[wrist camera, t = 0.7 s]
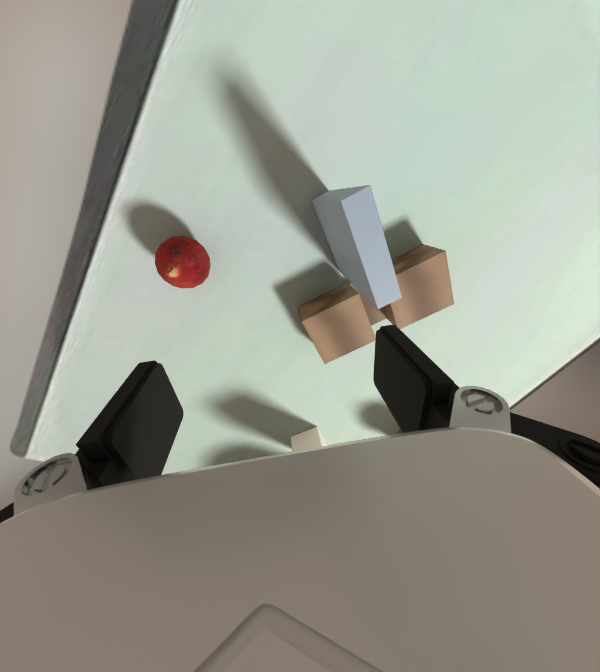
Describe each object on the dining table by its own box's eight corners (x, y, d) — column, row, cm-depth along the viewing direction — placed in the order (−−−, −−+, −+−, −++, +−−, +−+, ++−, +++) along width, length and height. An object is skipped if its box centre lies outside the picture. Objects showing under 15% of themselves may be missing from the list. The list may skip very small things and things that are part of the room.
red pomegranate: (171, 225, 30) (143, 233, 23) (219, 241, 32) (206, 253, 25) (165, 270, 33) (138, 290, 26) (210, 284, 34) (196, 305, 27)
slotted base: (423, 244, 35) (445, 250, 31) (433, 292, 39) (454, 303, 35) (297, 307, 38) (301, 321, 33) (318, 346, 41) (324, 364, 37)
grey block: (328, 190, 31) (370, 185, 18) (355, 263, 35) (401, 297, 23) (311, 200, 31) (340, 201, 19) (339, 271, 36) (378, 309, 24)
